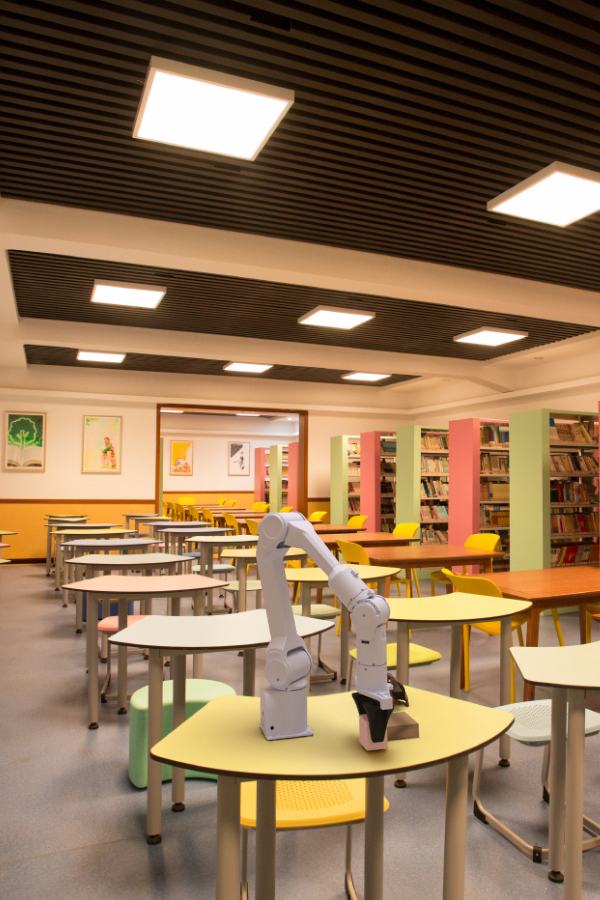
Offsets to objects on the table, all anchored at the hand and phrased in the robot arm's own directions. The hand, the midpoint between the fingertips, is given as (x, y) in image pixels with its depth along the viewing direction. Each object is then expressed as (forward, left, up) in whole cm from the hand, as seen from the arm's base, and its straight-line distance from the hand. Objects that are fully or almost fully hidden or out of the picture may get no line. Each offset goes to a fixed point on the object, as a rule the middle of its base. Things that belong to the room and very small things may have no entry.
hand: (373, 736), depth 110 cm
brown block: (+7, +6, -2) cm, 10 cm away
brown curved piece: (+12, +22, -2) cm, 25 cm away
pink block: (0, 0, -2) cm, 2 cm away
